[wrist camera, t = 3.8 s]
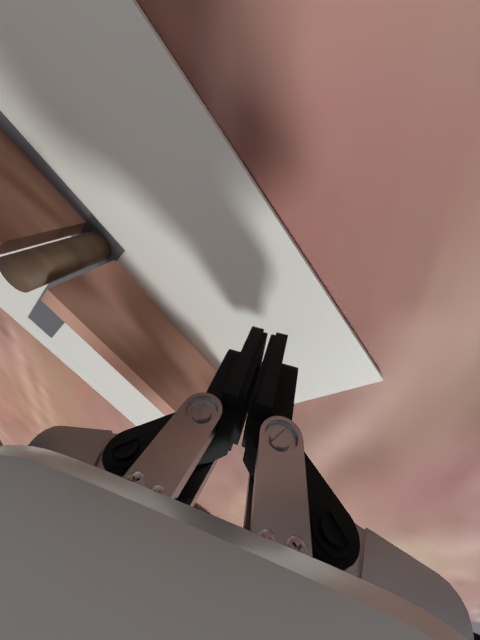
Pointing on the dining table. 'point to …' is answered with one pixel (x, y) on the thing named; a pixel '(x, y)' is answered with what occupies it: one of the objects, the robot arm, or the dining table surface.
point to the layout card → (157, 200)
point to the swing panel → (131, 335)
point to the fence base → (39, 226)
